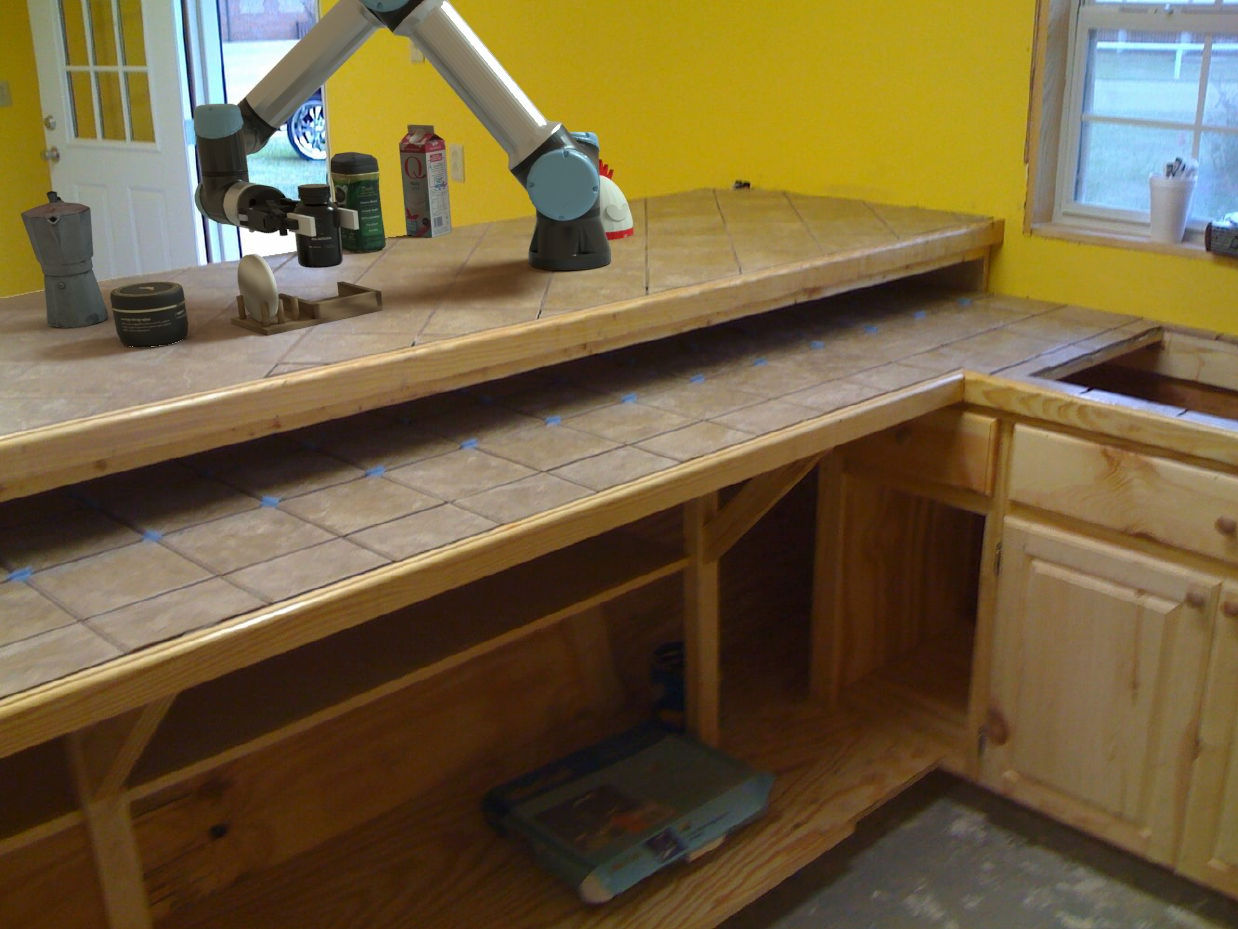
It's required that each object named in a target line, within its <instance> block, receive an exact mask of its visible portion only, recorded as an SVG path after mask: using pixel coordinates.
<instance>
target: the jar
mask: <svg viewBox="0 0 1238 929" xmlns="http://www.w3.org/2000/svg"><path fill="white" fill-rule="evenodd" d="M109 298H110V303H111V304H110V308H111V309H112V313H113V320H114V325H115V330H116V334H117V336H118V337H119V338H118V339H119V340H120V341H121V343H122V344H123V345H124V344H125V345H124V346H126V345H127V346H126V347H128V346H131V347H130V348H133V347H151V346H159V345H166V346H169V345H168V344H171V345H173V344H172V343H175V342H178V341H180V340H182V339H184V340H185V339H186V337H187V336H188V331H189V319H188V312H187V307H186V301H187V300H186V297H185V291H184V287H183V285H181V284H179V283H177V282H172V281H150V282H149V281H147V282H146V281H145V282H138V283H137V282H136V283H131V284H127V285H122V286H119V287H116V288H115V289H113V290H112V291H111V292H110V295H109ZM182 341H183V340H182ZM180 342H181V341H180ZM178 343H179V342H178ZM175 344H176V343H175ZM132 346H133V347H132Z"/></svg>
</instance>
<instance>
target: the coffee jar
mask: <svg viewBox="0 0 1238 929" xmlns="http://www.w3.org/2000/svg"><path fill="white" fill-rule="evenodd" d="M330 176H331V180H332V184H333V190H334V199H335V200H334V202H336V201H338V204H346V207H347V209H349V210H354V211H357V212H358V223H359V229H356V230H354V229H349V228H344V227H340V230H341V242H342V250H344V251H349V252H353V253H358V252H359V253H360V252H367V253H372V252H377V251H378V250H381V249H385V247H386V246H387V245H386V244H387V242H386V233H385V226H384V220H383V219H384V218H383V211H382V203H381V193H380V168H379V162H378V159H377V158H376V157H375V156H373V155H372V154H367V153H364V152H363V153H362V152H356V151H348V152H347V151H346V152H340V153H335V154H334V155H333V156H332V157H331V158H330Z"/></svg>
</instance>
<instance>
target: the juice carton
mask: <svg viewBox="0 0 1238 929" xmlns="http://www.w3.org/2000/svg"><path fill="white" fill-rule="evenodd" d="M406 126H407V133H406V134H405V135H404V136H403V137H402V139H401V140H400V141H399V142H398V148H399V149H398V150H399V161H400V172H401V173H400V174H401V182H402V194H403V208H404V218H405V219H404V220H405V230H406V236H407V237H408V235H412V236H411V237H420V238H421V237H422V238H431V239H433V238H436V237H440V236H443V235H447V234H450V233H452V230H453V229H452V218H451V217H452V215H451V204H450V191H449V190H450V189H449V178H448V177H449V174H448V164H447V150H446V140H445V139H444V138H442V137H441V136H439V135H438V134H436V132H435V125H434V124H433V125H432V124H407V125H406Z"/></svg>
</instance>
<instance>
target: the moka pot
mask: <svg viewBox="0 0 1238 929" xmlns="http://www.w3.org/2000/svg"><path fill="white" fill-rule="evenodd" d="M46 197H47V199H48V201H49V202H46V203H44V204H42V205H41V204H40V205H37V206H35V207H31V208H30V209H27V210H25V211H23V212H21V213H20V216H21V220H22V223H23V225H24V227H25V231H26V233H27V236H28V239H29V242H30V244H31V247H32V249H33V253H34V256H35V258H36V260H37V262H38V263H39V264H40V268H41V272H42V274H43V281H44V282H43V283H44V295H45V309H46V321H47V322H46V324H47V325H48V326H50V327H52V326H58V327H76V328H80V327H79V326H84V327H88V325H89V326H92V324H93V325H96V324H99V323H101V322H104V321H106V320H107V319H108V318H109V313H108V312H109V311H108V309H107V307H106V306H107V305H106V303H105V300H104V297H103V294H102V292H101V289H100V286H99V283H98V280H97V278H96V275H95V272H94V270H93V267H94V265H93V260H92V258H93V256H94V245H93V244H94V243H93V242H94V241H93V227H92V226H93V225H92V215H91V214H92V213H91V212H92V210H91V207H90V206H87V205H86V204H85V205H84V204H82V203H80V202H79V203H78V202H65V201H64V200H62V198H61V197H60V196H58V192H57V191H54V190H50V191H48V192H46Z"/></svg>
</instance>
